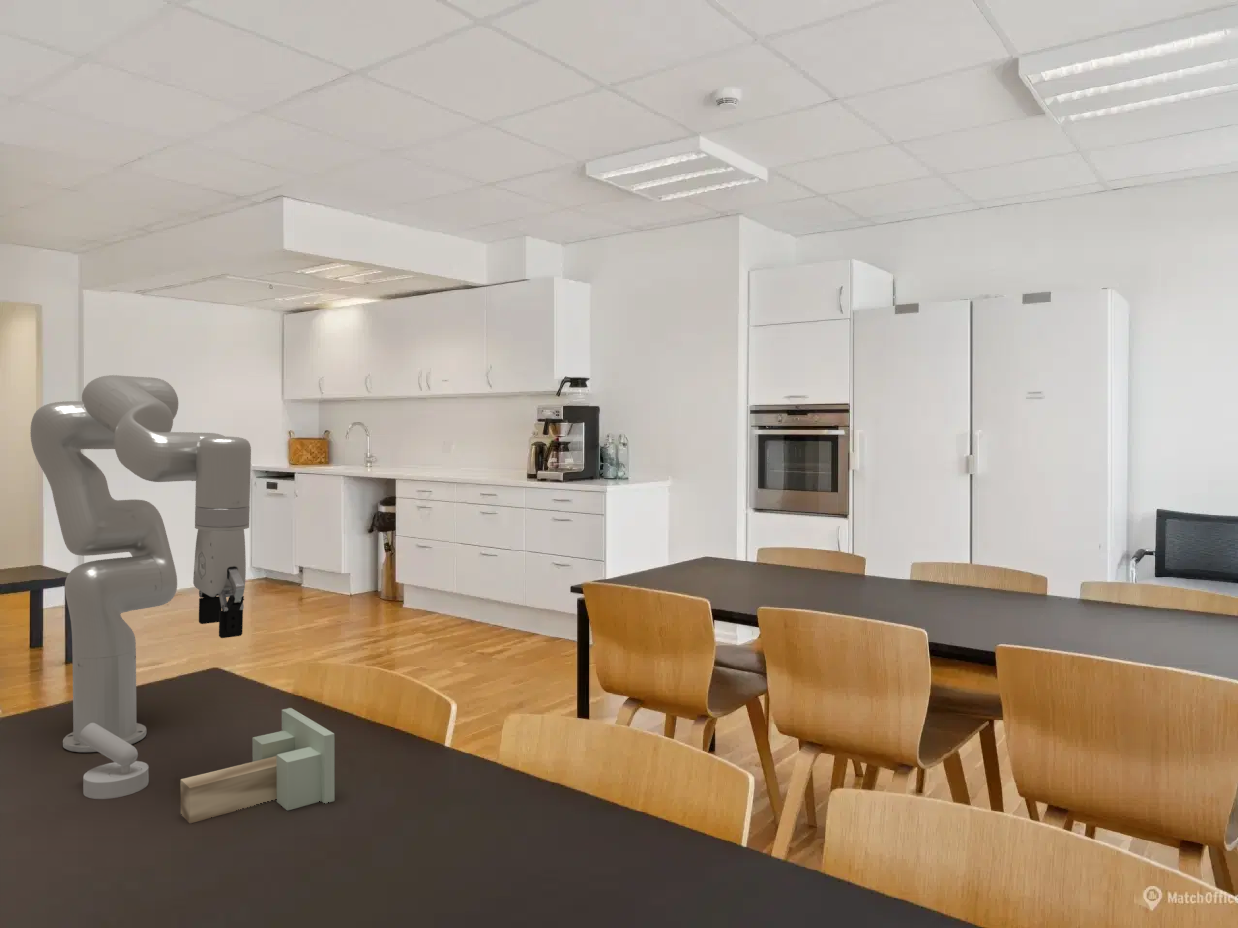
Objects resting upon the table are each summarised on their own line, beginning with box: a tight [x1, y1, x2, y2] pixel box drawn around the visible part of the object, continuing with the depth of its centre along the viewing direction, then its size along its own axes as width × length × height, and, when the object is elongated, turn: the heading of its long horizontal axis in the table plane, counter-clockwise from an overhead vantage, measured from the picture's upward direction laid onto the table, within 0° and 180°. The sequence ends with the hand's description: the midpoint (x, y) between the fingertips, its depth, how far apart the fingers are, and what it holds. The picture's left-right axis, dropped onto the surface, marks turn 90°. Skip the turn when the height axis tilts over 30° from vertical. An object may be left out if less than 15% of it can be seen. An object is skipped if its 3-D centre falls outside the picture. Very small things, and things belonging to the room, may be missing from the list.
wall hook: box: [79, 723, 150, 800], centre depth 133 cm, size 9×10×10 cm
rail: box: [180, 756, 277, 824], centre depth 128 cm, size 4×16×5 cm, turn 133°
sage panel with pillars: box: [251, 707, 336, 812], centre depth 132 cm, size 16×6×10 cm, turn 43°
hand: (220, 629), depth 134 cm, fingers open, 9 cm apart
